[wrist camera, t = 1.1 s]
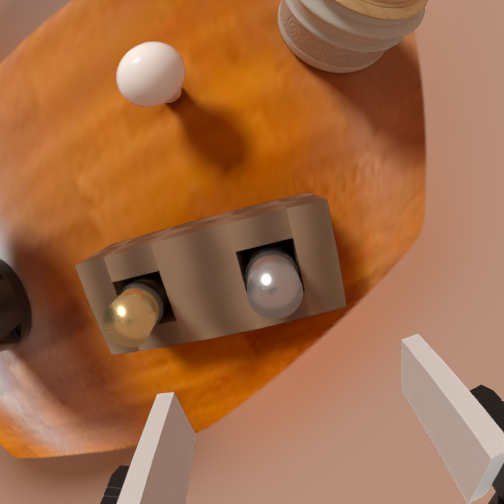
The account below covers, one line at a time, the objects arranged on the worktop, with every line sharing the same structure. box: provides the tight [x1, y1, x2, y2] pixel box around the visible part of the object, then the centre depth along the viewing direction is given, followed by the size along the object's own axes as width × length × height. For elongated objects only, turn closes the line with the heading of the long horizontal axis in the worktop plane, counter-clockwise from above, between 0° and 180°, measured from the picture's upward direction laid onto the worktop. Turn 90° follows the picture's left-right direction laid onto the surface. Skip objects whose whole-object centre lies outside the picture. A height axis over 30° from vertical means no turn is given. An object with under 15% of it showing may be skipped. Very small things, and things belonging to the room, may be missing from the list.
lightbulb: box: [116, 42, 186, 107], centre depth 26 cm, size 6×6×11 cm
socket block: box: [75, 193, 346, 355], centre depth 32 cm, size 24×10×9 cm, turn 104°
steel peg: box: [245, 243, 303, 319], centre depth 26 cm, size 4×4×8 cm
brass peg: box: [103, 272, 169, 348], centre depth 27 cm, size 4×4×8 cm
